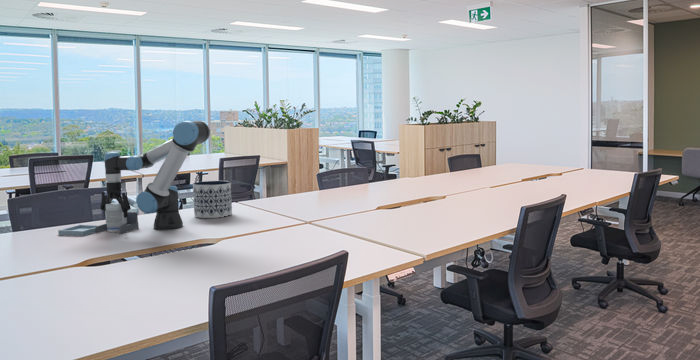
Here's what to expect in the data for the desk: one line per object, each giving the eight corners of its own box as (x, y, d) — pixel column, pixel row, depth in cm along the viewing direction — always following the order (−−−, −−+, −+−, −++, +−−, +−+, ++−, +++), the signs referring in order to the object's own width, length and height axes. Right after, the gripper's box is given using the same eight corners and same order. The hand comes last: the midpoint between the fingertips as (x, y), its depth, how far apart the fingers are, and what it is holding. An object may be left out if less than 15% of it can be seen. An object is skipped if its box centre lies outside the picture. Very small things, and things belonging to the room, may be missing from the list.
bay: (114, 227, 294) (113, 211, 293) (138, 228, 290) (137, 212, 289) (96, 232, 280) (94, 215, 279) (121, 233, 276) (120, 216, 275)
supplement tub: (128, 231, 283) (126, 203, 281) (108, 233, 278) (107, 205, 276) (124, 228, 291) (122, 201, 289) (105, 230, 286) (103, 203, 284)
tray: (103, 230, 287) (103, 225, 286) (83, 236, 272) (82, 231, 272) (80, 229, 290) (79, 224, 290) (58, 234, 276) (58, 230, 276)
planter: (227, 218, 315) (225, 184, 313) (189, 219, 315) (187, 185, 313) (235, 212, 337) (234, 180, 335) (200, 212, 337) (199, 180, 335)
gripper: (136, 180, 282) (139, 222, 285) (100, 180, 288) (103, 221, 290) (127, 182, 275) (129, 225, 278) (90, 182, 281) (93, 223, 283)
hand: (116, 223), depth 284 cm, fingers closed on supplement tub, 10 cm apart
